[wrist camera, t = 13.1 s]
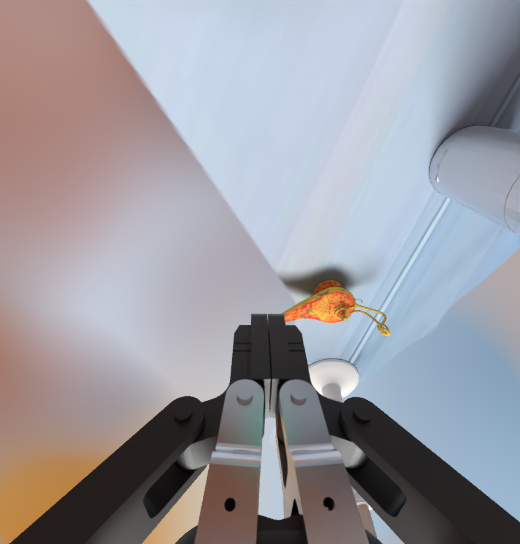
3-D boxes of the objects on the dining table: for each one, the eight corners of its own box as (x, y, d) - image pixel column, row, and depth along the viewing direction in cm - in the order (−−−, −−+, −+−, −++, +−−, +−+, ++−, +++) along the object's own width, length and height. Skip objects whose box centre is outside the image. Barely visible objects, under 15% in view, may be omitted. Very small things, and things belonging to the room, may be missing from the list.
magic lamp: (267, 278, 49) (270, 322, 39) (373, 273, 49) (402, 316, 39) (268, 310, 52) (271, 357, 43) (367, 305, 52) (392, 351, 43)
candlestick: (331, 404, 67) (378, 593, 42) (287, 385, 63) (309, 580, 38) (370, 373, 62) (452, 569, 36) (324, 350, 58) (380, 551, 32)
